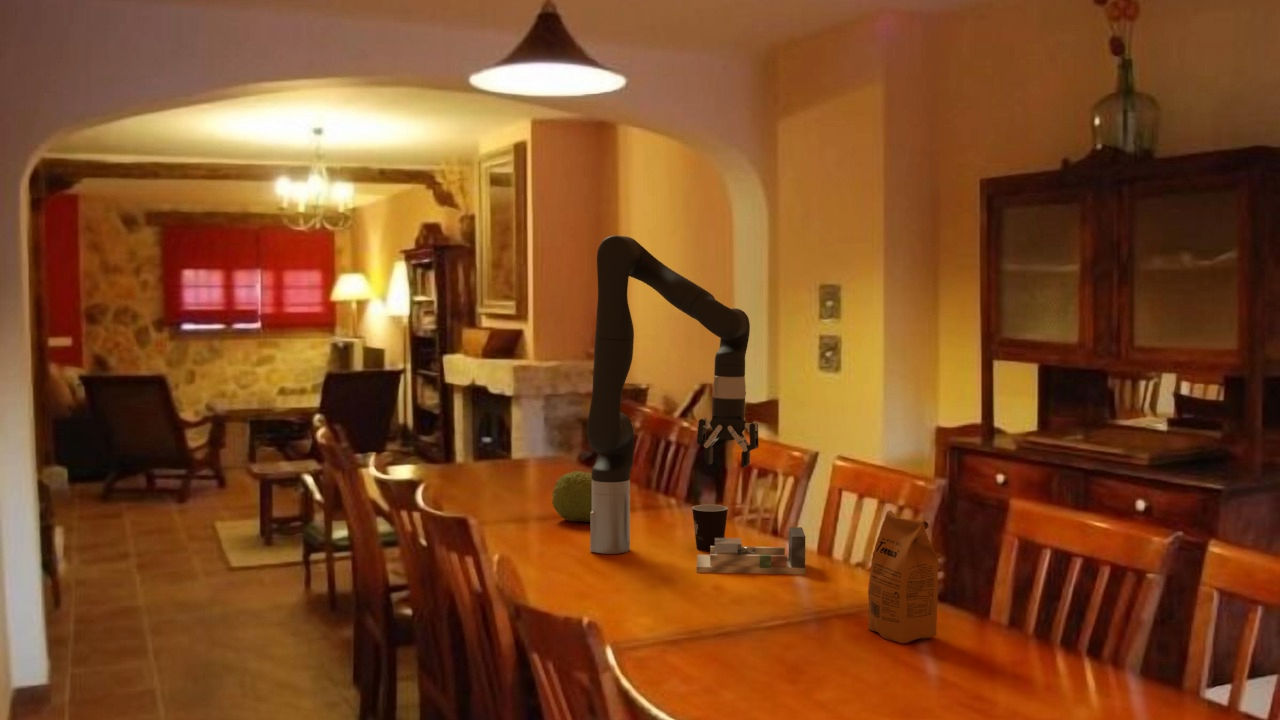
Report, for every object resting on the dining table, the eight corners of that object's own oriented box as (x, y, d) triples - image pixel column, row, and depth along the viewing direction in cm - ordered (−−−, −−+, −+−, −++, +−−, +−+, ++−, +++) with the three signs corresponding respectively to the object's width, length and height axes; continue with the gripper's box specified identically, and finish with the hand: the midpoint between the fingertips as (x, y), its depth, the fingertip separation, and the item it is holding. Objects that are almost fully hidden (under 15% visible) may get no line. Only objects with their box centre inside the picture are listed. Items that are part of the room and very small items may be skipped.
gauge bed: (696, 572, 254) (696, 535, 253) (697, 559, 266) (697, 524, 265) (805, 574, 252) (805, 537, 252) (801, 561, 264) (801, 526, 264)
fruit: (605, 514, 319) (622, 470, 313) (599, 543, 307) (616, 498, 300) (550, 496, 319) (565, 452, 312) (541, 524, 306) (557, 479, 299)
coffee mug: (725, 553, 272) (725, 512, 271) (689, 551, 274) (689, 510, 273) (731, 543, 283) (731, 503, 283) (696, 541, 285) (696, 501, 284)
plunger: (714, 565, 253) (714, 546, 253) (714, 556, 262) (714, 537, 262) (755, 566, 253) (755, 547, 252) (754, 557, 262) (754, 538, 261)
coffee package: (904, 622, 216) (906, 507, 215) (944, 641, 204) (946, 519, 203) (859, 627, 212) (860, 510, 211) (897, 647, 201) (899, 523, 199)
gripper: (693, 394, 262) (691, 465, 263) (752, 399, 255) (750, 470, 257) (706, 392, 268) (704, 460, 269) (763, 396, 262) (761, 466, 263)
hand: (726, 465), depth 263 cm, fingers open, 8 cm apart
